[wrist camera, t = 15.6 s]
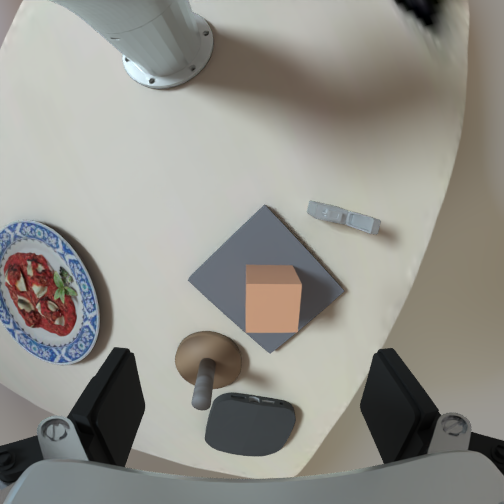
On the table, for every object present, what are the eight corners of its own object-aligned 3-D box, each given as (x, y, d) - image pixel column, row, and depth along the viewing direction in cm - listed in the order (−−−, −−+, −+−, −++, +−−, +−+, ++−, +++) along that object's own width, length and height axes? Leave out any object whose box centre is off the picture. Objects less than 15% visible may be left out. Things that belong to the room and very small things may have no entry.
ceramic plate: (17, 352, 45) (9, 359, 42) (-18, 226, 39) (-28, 230, 36) (121, 363, 45) (115, 373, 43) (87, 208, 39) (77, 210, 36)
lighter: (306, 213, 40) (321, 223, 32) (309, 200, 39) (324, 207, 32) (355, 223, 40) (379, 235, 32) (358, 211, 40) (383, 221, 32)
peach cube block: (246, 264, 40) (246, 283, 33) (292, 265, 40) (301, 284, 33) (245, 307, 41) (245, 332, 34) (289, 307, 41) (297, 332, 35)
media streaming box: (202, 438, 50) (201, 449, 48) (216, 386, 47) (214, 398, 44) (275, 449, 52) (276, 460, 49) (300, 400, 48) (302, 411, 45)
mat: (189, 276, 41) (187, 280, 40) (264, 204, 39) (265, 205, 38) (269, 348, 45) (270, 353, 43) (341, 287, 42) (344, 291, 41)
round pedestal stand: (164, 356, 45) (147, 399, 35) (206, 318, 43) (196, 359, 33) (211, 392, 47) (204, 438, 37) (254, 359, 45) (257, 405, 35)
